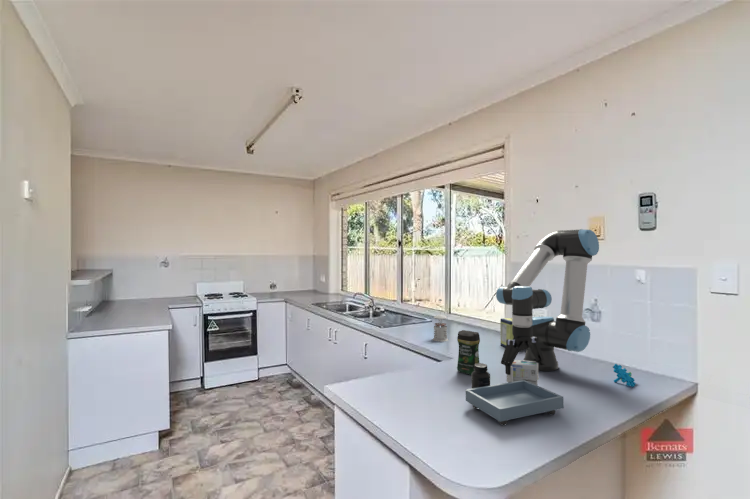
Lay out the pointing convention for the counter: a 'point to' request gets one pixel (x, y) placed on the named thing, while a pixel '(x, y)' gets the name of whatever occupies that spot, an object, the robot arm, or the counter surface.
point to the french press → (440, 329)
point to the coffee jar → (468, 351)
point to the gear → (623, 375)
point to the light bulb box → (525, 371)
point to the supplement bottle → (480, 376)
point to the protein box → (506, 330)
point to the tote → (514, 400)
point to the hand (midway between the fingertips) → (522, 380)
